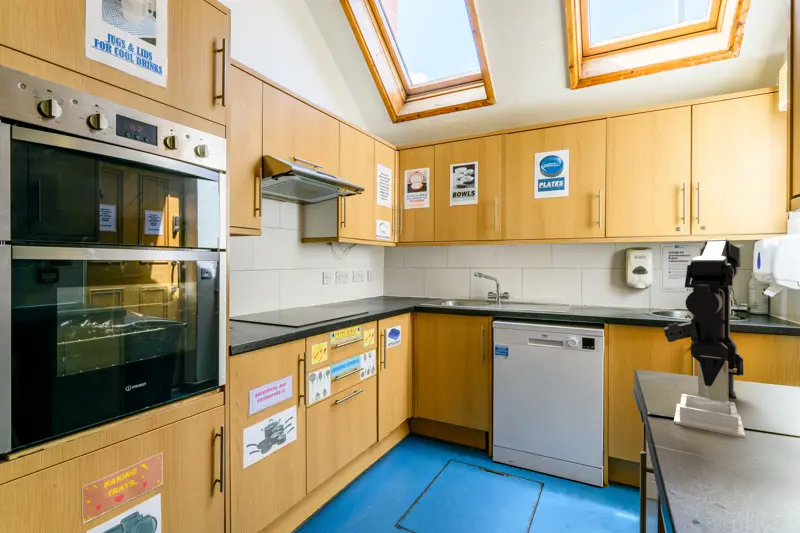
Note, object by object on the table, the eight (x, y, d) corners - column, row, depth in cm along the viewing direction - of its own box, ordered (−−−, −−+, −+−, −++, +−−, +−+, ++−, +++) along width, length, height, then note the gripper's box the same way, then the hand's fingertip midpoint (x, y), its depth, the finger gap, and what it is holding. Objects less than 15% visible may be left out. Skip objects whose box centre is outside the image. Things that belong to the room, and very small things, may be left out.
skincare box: (729, 412, 94) (729, 361, 94) (708, 410, 96) (708, 360, 95) (716, 403, 100) (717, 356, 100) (696, 401, 102) (697, 354, 102)
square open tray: (677, 405, 98) (677, 391, 98) (739, 417, 91) (739, 401, 91) (674, 423, 87) (674, 407, 87) (745, 438, 80) (745, 420, 80)
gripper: (668, 307, 101) (668, 367, 101) (662, 314, 87) (662, 384, 87) (723, 310, 95) (723, 374, 95) (728, 318, 80) (727, 394, 80)
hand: (707, 381), depth 89 cm, fingers open, 9 cm apart
